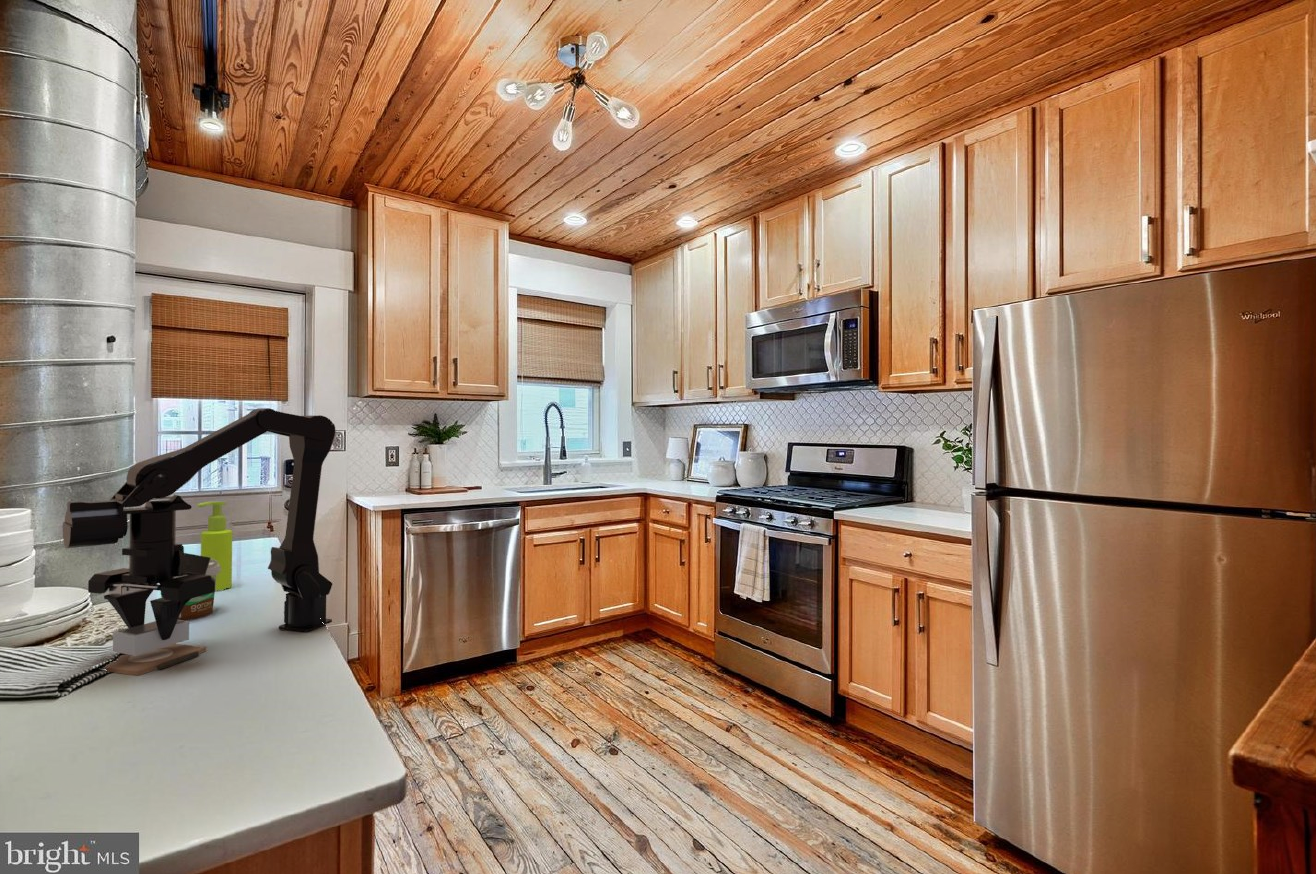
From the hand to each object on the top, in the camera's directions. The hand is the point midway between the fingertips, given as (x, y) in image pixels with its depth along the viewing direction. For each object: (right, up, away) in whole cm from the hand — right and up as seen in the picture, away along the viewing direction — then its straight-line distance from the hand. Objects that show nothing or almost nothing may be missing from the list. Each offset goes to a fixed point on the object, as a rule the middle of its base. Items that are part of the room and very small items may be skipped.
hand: (151, 637), depth 100 cm
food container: (-10, -3, +24) cm, 26 cm away
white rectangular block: (0, -1, 0) cm, 1 cm away
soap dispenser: (-21, -3, +44) cm, 48 cm away
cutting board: (0, -4, 0) cm, 4 cm away
